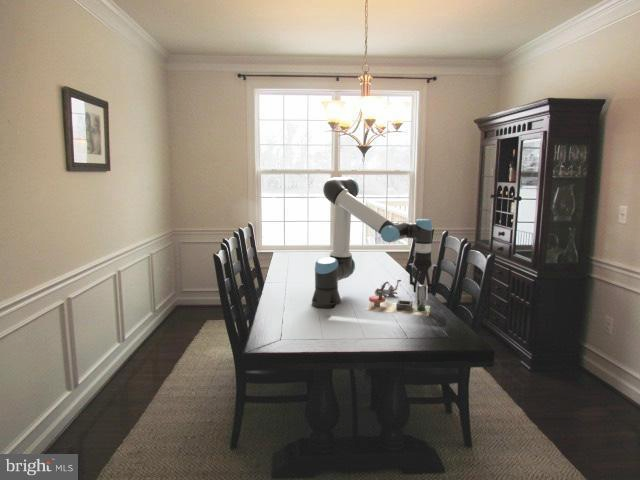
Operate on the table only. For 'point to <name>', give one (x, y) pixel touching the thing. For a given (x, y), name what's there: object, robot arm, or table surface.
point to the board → (399, 308)
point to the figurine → (389, 291)
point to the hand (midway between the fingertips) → (421, 299)
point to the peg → (421, 298)
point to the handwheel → (377, 299)
